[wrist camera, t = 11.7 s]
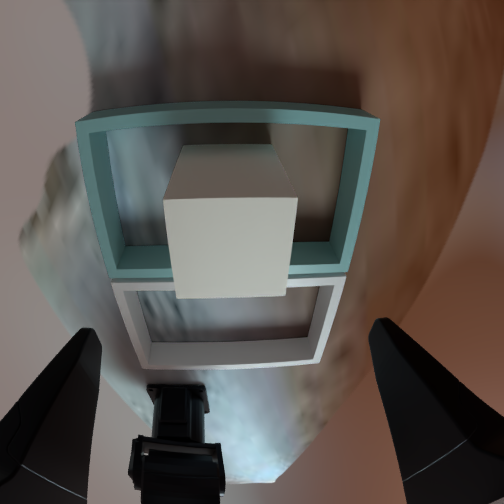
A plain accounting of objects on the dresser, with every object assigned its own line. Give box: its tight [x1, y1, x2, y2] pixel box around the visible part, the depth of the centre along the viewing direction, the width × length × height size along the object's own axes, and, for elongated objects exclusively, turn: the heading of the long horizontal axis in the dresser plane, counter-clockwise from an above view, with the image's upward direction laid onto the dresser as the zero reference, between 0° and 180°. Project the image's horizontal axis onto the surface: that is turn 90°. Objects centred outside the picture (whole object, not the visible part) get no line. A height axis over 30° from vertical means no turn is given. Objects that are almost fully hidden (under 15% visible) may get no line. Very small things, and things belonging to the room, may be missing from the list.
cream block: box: [163, 144, 298, 299], centre depth 16 cm, size 5×5×7 cm
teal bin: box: [75, 101, 380, 278], centre depth 17 cm, size 10×15×2 cm, turn 88°
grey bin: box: [111, 272, 346, 370], centre depth 24 cm, size 10×15×2 cm, turn 88°
